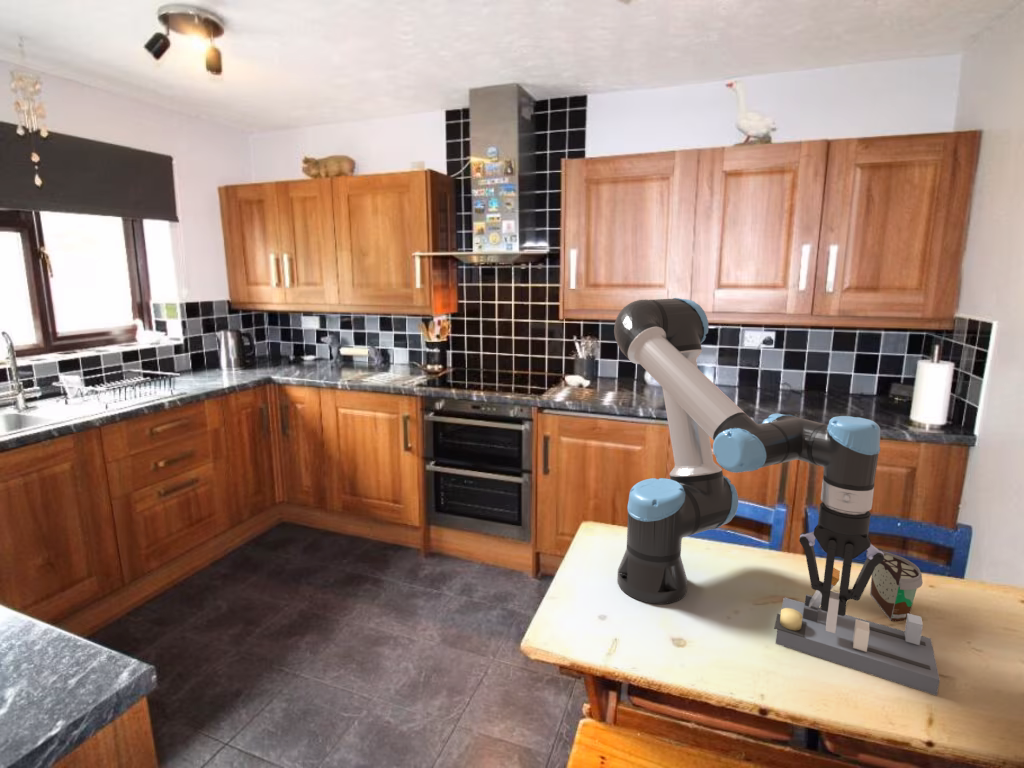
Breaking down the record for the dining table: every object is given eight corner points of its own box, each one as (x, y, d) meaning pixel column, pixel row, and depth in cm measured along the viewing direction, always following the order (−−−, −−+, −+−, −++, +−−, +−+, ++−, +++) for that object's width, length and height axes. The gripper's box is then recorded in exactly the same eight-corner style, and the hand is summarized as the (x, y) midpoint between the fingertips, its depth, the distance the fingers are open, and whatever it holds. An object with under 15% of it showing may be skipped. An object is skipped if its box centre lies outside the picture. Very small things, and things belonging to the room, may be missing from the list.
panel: (772, 642, 100) (775, 618, 99) (779, 609, 110) (782, 586, 109) (936, 695, 87) (941, 668, 86) (928, 652, 97) (932, 627, 96)
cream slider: (853, 647, 94) (855, 627, 93) (853, 638, 96) (855, 619, 95) (866, 651, 93) (869, 631, 92) (866, 642, 95) (869, 622, 94)
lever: (805, 612, 103) (831, 575, 99) (806, 603, 106) (832, 566, 102) (813, 617, 102) (839, 580, 98) (814, 607, 105) (839, 570, 102)
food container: (929, 629, 103) (937, 583, 101) (894, 625, 105) (901, 580, 103) (898, 593, 115) (904, 551, 113) (866, 590, 116) (872, 548, 115)
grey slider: (905, 641, 95) (908, 621, 94) (904, 632, 98) (907, 613, 97) (919, 645, 94) (922, 625, 93) (917, 636, 97) (921, 616, 96)
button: (778, 626, 100) (779, 615, 99) (781, 616, 102) (782, 605, 102) (800, 632, 98) (801, 622, 97) (802, 622, 101) (803, 612, 100)
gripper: (800, 505, 92) (788, 626, 97) (892, 523, 85) (874, 653, 90) (804, 491, 98) (792, 605, 103) (889, 506, 91) (873, 628, 96)
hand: (830, 627), depth 96 cm, fingers closed
